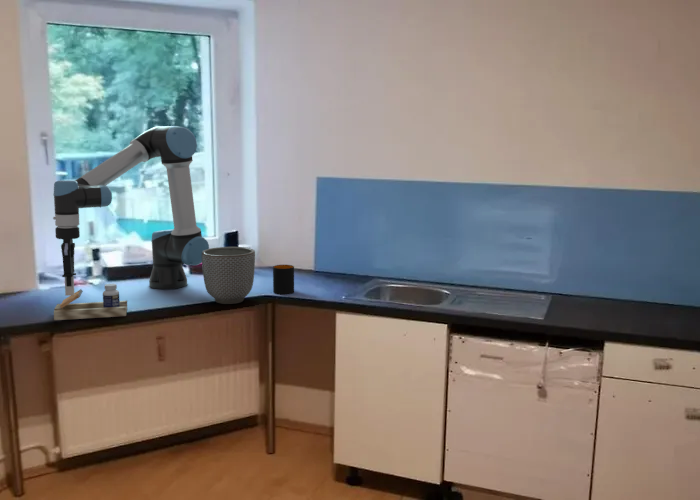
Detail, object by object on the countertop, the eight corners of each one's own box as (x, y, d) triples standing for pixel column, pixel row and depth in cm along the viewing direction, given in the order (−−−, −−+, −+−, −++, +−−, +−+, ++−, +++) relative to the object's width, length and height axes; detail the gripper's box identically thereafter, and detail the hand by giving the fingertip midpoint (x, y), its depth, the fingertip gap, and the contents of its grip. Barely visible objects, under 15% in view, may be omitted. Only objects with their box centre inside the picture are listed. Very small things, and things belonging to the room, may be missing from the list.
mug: (289, 287, 282) (289, 262, 280) (296, 293, 271) (296, 268, 269) (269, 288, 279) (268, 263, 278) (275, 295, 268) (275, 269, 266)
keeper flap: (82, 291, 241) (81, 289, 241) (79, 296, 233) (78, 294, 233) (64, 302, 240) (63, 300, 240) (61, 308, 232) (59, 306, 232)
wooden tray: (127, 308, 247) (126, 299, 246) (126, 315, 237) (125, 306, 237) (58, 312, 241) (57, 302, 240) (54, 320, 232) (53, 310, 231)
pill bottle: (114, 314, 238) (113, 286, 236) (100, 313, 239) (99, 286, 237) (123, 310, 243) (121, 283, 241) (109, 309, 244) (107, 282, 242)
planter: (229, 292, 273) (228, 244, 269) (266, 299, 262) (266, 250, 258) (191, 302, 257) (189, 251, 253) (229, 310, 246) (228, 257, 242)
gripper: (58, 224, 238) (60, 291, 241) (52, 229, 225) (55, 299, 229) (81, 224, 240) (83, 290, 243) (76, 228, 227) (79, 298, 231)
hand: (69, 294), depth 236 cm, fingers closed
